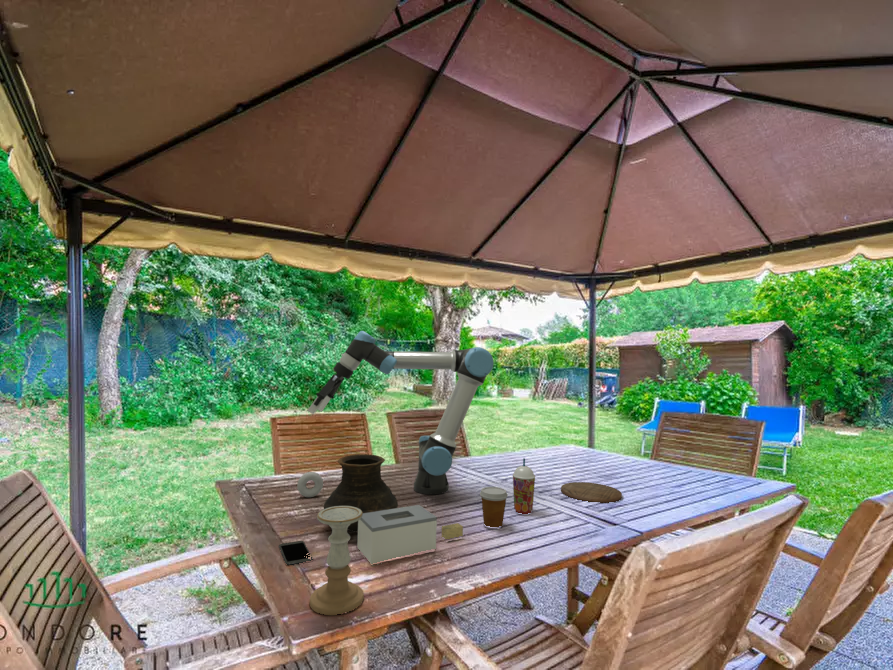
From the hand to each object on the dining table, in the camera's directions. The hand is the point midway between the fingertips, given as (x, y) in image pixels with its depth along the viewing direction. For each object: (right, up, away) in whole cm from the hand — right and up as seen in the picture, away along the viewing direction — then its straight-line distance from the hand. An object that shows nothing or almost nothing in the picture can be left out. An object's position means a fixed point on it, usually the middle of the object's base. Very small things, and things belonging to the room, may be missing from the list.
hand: (314, 411), depth 174 cm
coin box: (+37, -34, -43) cm, 66 cm away
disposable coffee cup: (+68, -36, -22) cm, 80 cm away
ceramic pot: (+23, -34, -26) cm, 49 cm away
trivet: (+114, -39, +18) cm, 122 cm away
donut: (-3, -35, +4) cm, 35 cm away
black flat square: (+8, -33, -46) cm, 58 cm away
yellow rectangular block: (+53, -35, -34) cm, 72 cm away
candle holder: (+26, -32, -71) cm, 82 cm away
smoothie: (+80, -37, -8) cm, 89 cm away
